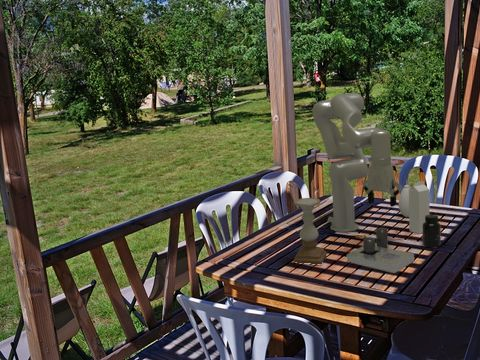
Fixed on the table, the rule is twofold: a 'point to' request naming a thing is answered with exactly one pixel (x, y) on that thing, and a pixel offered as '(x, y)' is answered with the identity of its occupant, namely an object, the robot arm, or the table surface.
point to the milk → (418, 207)
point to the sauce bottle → (404, 201)
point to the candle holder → (309, 234)
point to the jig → (380, 257)
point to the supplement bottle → (431, 231)
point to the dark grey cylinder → (381, 237)
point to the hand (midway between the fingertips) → (382, 204)
